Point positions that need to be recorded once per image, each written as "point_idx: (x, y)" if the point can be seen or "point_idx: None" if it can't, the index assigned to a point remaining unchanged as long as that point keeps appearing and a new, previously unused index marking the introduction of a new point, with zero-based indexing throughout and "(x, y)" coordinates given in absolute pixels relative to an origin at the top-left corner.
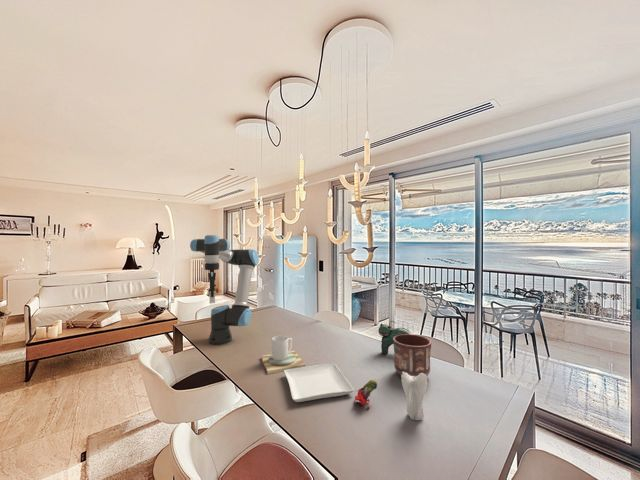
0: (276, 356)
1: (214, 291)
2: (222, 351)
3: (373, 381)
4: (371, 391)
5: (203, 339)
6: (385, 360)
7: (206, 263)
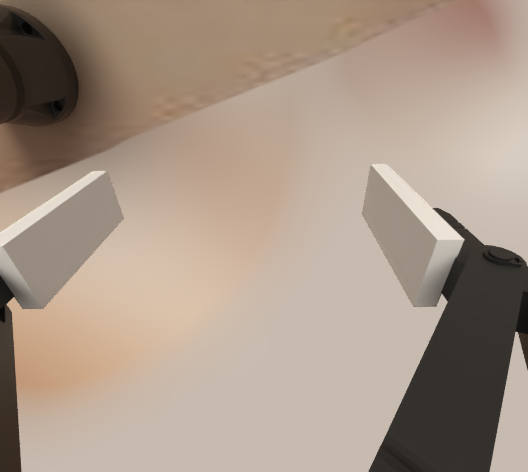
0: None
1: (457, 239)
2: (158, 60)
3: None
4: None
5: (17, 145)
6: None
7: None
